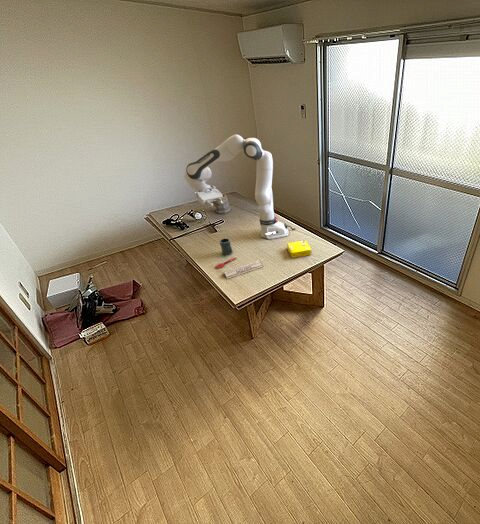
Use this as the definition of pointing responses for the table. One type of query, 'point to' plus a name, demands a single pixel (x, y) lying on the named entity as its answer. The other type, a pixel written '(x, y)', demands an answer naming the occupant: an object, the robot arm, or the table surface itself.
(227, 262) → the spoon
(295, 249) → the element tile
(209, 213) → the table surface
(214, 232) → the table surface
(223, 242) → the mug
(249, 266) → the newspaper
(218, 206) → the tankard
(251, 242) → the table surface
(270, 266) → the table surface
